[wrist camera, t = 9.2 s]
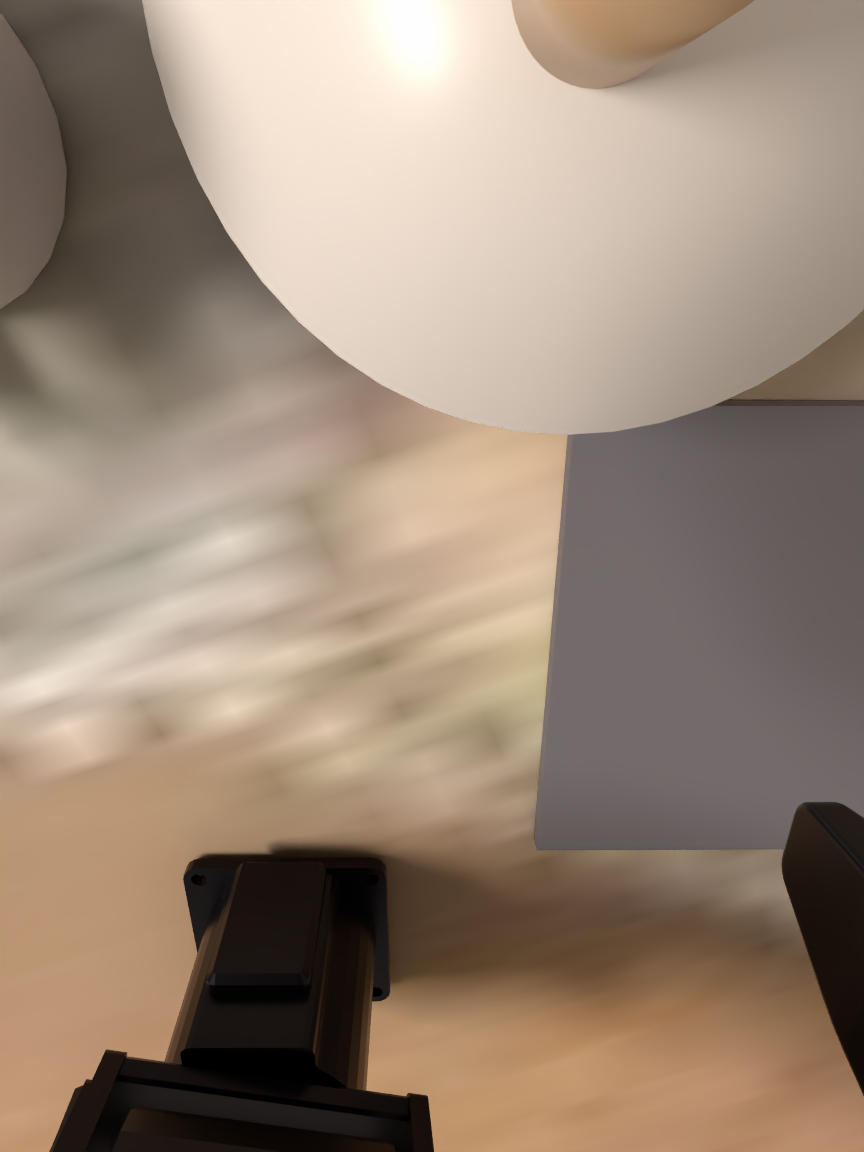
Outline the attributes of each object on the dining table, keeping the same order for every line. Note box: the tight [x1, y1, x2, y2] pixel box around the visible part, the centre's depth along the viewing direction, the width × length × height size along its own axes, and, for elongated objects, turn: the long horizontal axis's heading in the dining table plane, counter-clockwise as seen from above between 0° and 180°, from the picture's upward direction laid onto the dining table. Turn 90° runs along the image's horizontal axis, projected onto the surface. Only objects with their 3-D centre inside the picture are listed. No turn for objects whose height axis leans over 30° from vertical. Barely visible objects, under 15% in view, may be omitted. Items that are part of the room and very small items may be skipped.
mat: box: [534, 400, 864, 850], centre depth 21 cm, size 14×14×1 cm
